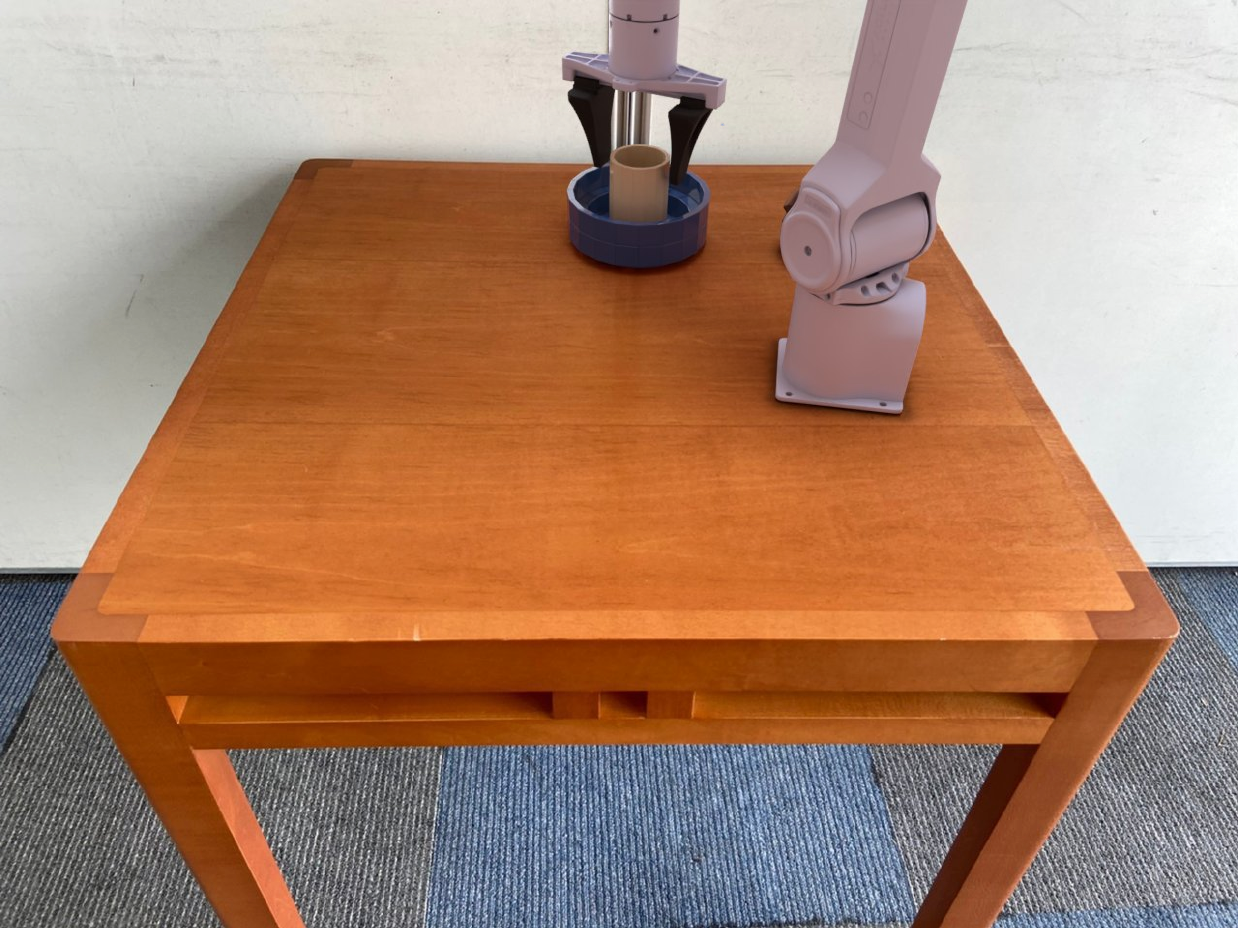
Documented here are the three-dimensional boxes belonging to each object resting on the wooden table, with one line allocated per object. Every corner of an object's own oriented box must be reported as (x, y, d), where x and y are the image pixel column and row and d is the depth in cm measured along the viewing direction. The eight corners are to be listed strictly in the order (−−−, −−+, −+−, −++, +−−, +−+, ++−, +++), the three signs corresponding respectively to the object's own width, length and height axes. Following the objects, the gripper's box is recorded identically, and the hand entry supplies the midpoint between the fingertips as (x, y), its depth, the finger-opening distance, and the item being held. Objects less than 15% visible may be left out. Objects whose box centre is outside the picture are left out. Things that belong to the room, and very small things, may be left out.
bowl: (711, 214, 91) (715, 166, 88) (698, 281, 82) (703, 231, 78) (583, 202, 93) (582, 155, 89) (555, 267, 83) (553, 217, 80)
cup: (674, 226, 88) (679, 151, 82) (651, 251, 84) (655, 174, 79) (624, 214, 89) (625, 139, 84) (599, 238, 86) (599, 162, 81)
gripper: (541, 12, 73) (548, 172, 82) (709, 40, 68) (696, 207, 78) (582, -10, 78) (584, 144, 87) (741, 15, 73) (725, 175, 82)
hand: (639, 172), depth 83 cm, fingers open, 7 cm apart
